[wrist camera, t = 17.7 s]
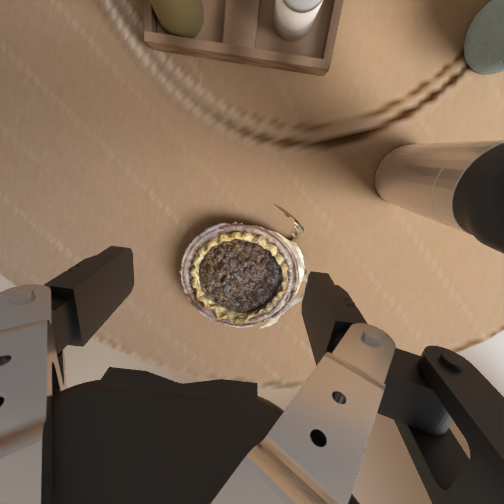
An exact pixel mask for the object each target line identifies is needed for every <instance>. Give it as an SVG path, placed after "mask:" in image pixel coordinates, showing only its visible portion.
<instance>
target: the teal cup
mask: <svg viewBox="0 0 504 504" xmlns="http://www.w3.org/2000/svg"><path fill="white" fill-rule="evenodd" d="M464 57H465V60H466V62H467V64H468V66H469V67H470V68H471V69H472V70H473V71H475V72H477V73H480V74H494V73H498V72H502V71H504V0H491V1H490V2H488V3H487V4H486V5H485V6H484V7H483V8H482V9H481V10H480V11H479V12H478V13H477V15H476V16H475V17H474V18H473V20H472V23H471V24H470V25H469V28H468V30H467V34H466V37H465V42H464Z"/></svg>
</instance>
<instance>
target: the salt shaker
mask: <svg viewBox="0 0 504 504" xmlns="http://www.w3.org/2000/svg"><path fill="white" fill-rule="evenodd" d="M322 2H323V0H275V6H274V15H273V21H274V26H275V29H276V31H277V33H278V35H279V36H280V37H281V38H282V39H284V40H286V41H289V42H296V41H299V40H301V39H302V38H304V37H305V36H306V35H307V34H308V32H309V31H310V29H311V27H312V24H313V22H314V20H315V18H316V15H317V13H318V11H319V9H320V6H321V4H322Z"/></svg>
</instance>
